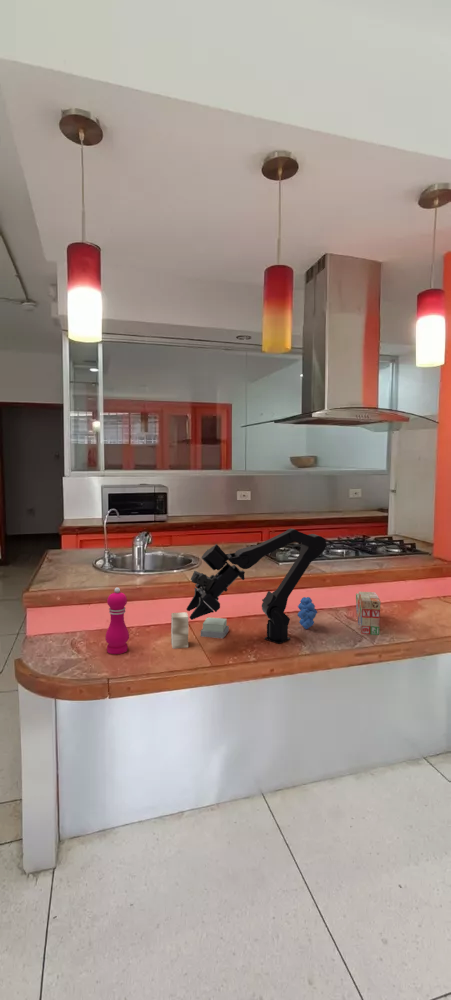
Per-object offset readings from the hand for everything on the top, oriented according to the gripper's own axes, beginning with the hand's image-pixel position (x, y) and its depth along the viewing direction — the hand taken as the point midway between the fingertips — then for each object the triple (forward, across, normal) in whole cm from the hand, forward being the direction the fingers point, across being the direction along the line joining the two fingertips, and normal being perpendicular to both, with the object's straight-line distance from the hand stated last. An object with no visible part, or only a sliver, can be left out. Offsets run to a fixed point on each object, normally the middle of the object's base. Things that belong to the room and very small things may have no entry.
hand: (188, 614), depth 151 cm
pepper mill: (+23, +2, -8) cm, 25 cm away
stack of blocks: (-41, -10, +55) cm, 69 cm away
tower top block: (-2, -9, +13) cm, 16 cm away
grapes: (-25, -9, +38) cm, 47 cm away
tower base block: (0, -9, +15) cm, 17 cm away
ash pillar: (+9, 0, +5) cm, 10 cm away
